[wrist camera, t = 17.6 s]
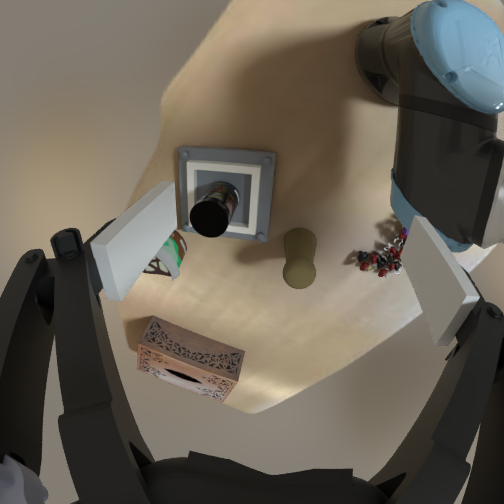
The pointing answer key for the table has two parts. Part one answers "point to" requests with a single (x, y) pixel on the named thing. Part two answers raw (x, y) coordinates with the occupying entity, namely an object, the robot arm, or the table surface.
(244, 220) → the base plate
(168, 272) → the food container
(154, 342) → the tissue box cover
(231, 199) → the supplement container
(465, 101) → the robot arm
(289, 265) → the cork
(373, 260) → the toy collection
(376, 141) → the table surface
